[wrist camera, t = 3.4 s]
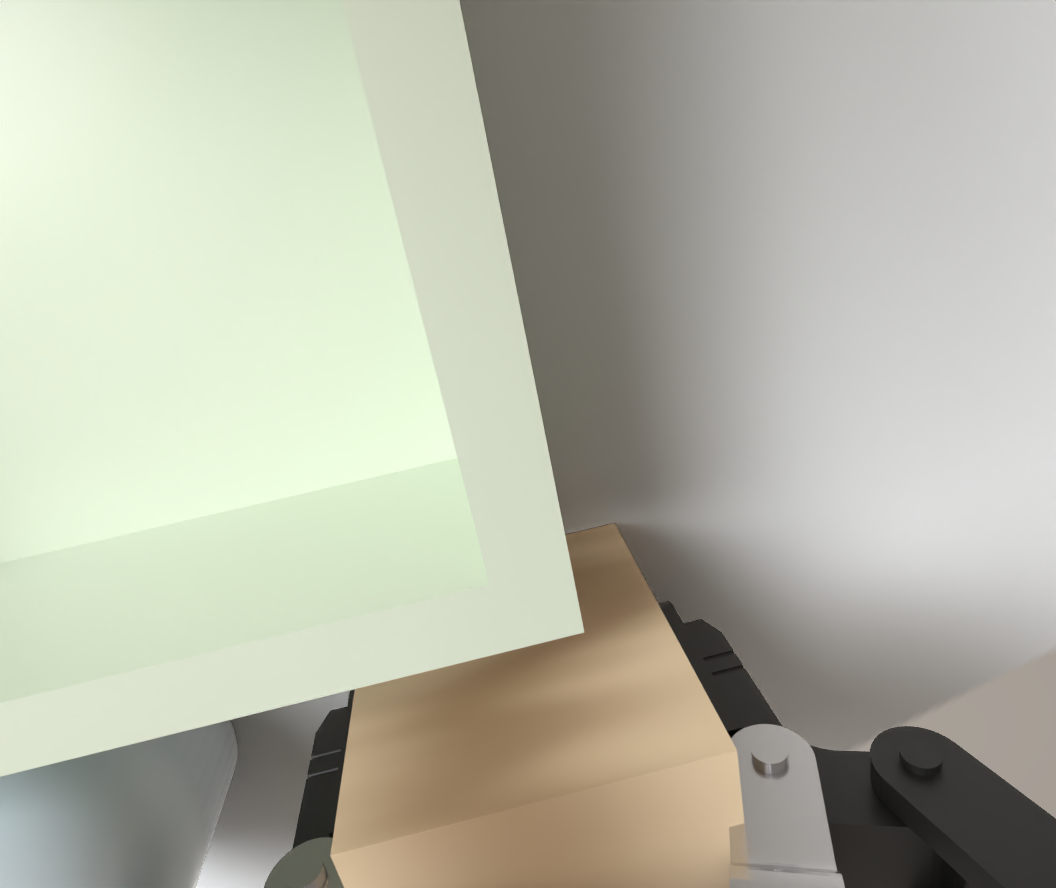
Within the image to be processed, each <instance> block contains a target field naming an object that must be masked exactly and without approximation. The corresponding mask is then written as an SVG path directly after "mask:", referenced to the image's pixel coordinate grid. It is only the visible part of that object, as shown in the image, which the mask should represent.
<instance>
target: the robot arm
mask: <svg viewBox="0 0 1056 888" xmlns="http://www.w3.org/2000/svg"><path fill="white" fill-rule="evenodd" d="M658 604H659V606H660V608H661V610H662V612H663V614H664V616H665V617H666V619H667V621H668V623H669V625H670V627H671V629H672V630H673V632H674V634H675V636H676V638H677V640H678V642H679V643H680V645H681V647H682V649H683V651H684V653H685V655H686V656H687V658H688V660H689V662H690V664H691V666H692V668H693V669H694V671H695V673H696V675H697V677H698V679H699V681H700V682H701V684H702V686H703V688H704V690H705V692H706V694H707V695H708V697H709V699H710V701H711V703H712V705H713V707H714V708H715V710H716V712H717V714H718V716H719V718H720V720H721V721H722V723H723V725H724V727H725V729H726V731H727V733H728V734H729V736H730V738H731V740H732V742H733V744H734V746H735V747H736V749H737V754H738V764H739V774H740V783H741V793H742V803H743V813H744V823H743V824H740V825H736V826H732V827H729V838H730V863H729V883H730V888H1056V819H1055V818H1054V817H1053V816H1051V815H1050V814H1049V813H1047V812H1046V811H1045V810H1043V809H1042V808H1041V807H1039V806H1038V805H1037V804H1035V803H1034V802H1032V801H1031V800H1030V799H1029V798H1027V797H1026V796H1025V795H1023V794H1022V793H1021V792H1019V791H1018V790H1017V789H1015V788H1014V787H1013V786H1012V785H1010V784H1009V783H1007V782H1006V781H1005V780H1004V779H1002V778H1001V777H1000V776H998V775H997V774H996V773H994V772H993V771H992V770H990V769H989V768H988V767H986V766H985V765H983V764H982V763H981V762H979V761H978V760H977V759H976V758H974V757H973V756H972V755H970V754H969V753H968V752H966V751H965V750H963V749H962V748H961V747H960V746H958V745H957V744H956V743H954V742H953V741H951V740H950V739H948V738H946V737H945V736H942V735H940V734H939V733H936V732H934V731H931V730H928V729H923V728H919V727H909V726H904V727H895V728H891V729H888V730H886V731H884V732H882V733H881V734H879V735H878V736H877V737H876V738H875V739H874V741H873V743H872V745H871V749H870V752H861V751H833V750H826V749H820V748H817V747H814V746H811V745H809V744H808V742H807V741H806V740H805V739H804V738H802V737H801V736H800V735H799V734H797V733H796V732H794V731H792V730H790V729H788V728H785V727H783V726H782V725H781V724H780V722H779V721H778V719H777V718H776V716H775V714H774V713H773V711H772V710H771V708H770V707H769V705H768V704H767V702H766V701H765V699H764V697H763V696H762V694H761V693H760V691H759V690H758V688H757V687H756V685H755V684H754V682H753V680H752V679H751V677H750V676H749V674H748V673H747V671H746V670H745V669H744V668H743V665H742V663H741V662H740V660H739V659H738V657H737V656H736V654H734V652H733V649H732V648H731V646H730V645H729V643H728V642H727V640H726V639H725V637H724V636H723V634H722V632H720V631H719V630H717V629H716V628H714V627H713V626H711V625H709V624H708V623H706V622H705V621H703V620H702V619H701V620H697V621H692V622H688V623H684V624H683V622H682V621H681V619H680V617H679V615H678V614H677V612H676V610H675V608H674V607H673V605H672V603H671V602H670V601H667V602H663V603H658ZM354 691H355V689H353V690H350V694H349V701H348V707H344V708H340V709H336V710H332V711H330V712H329V714H328V715H327V717H326V718H325V720H324V721H323V723H322V725H321V726H320V728H319V729H318V731H317V732H316V735H315V740H314V745H313V750H312V755H311V756H312V760H310V765H309V770H308V779H307V780H306V785H305V790H304V795H303V800H302V804H301V809H300V814H299V819H298V824H297V829H296V834H295V839H294V844H293V849H292V850H291V851H290V852H288V853H287V854H286V855H285V856H284V857H283V858H282V859H281V860H280V861H279V862H278V863H277V864H276V866H275V867H274V868H273V870H272V871H271V873H270V875H269V876H268V879H267V881H266V883H265V886H264V888H344V886H343V884H342V882H341V879H340V877H339V875H338V872H337V870H336V868H335V865H334V863H333V861H332V858H331V856H330V854H331V847H332V841H333V834H334V827H335V820H336V813H337V807H338V800H339V793H340V786H341V780H342V773H343V766H344V759H345V752H346V746H347V739H348V732H349V725H350V718H351V712H352V705H353V698H354Z"/></svg>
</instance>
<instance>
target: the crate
mask: <svg viewBox="0 0 1056 888" xmlns="http://www.w3.org/2000/svg"><path fill="white" fill-rule="evenodd" d="M580 633H584V628H583V622H582V617H581V612H580V607H579V602H578V597H577V592H576V587H575V582H574V577H573V572H572V567H571V562H570V557H569V552H568V547H567V542H566V537H565V532H564V526H563V521H562V516H561V511H560V506H559V501H558V496H557V491H556V486H555V481H554V476H553V471H552V466H551V461H550V456H549V451H548V446H547V441H546V436H545V431H544V425H543V420H542V415H541V410H540V405H539V400H538V395H537V390H536V385H535V380H534V375H533V370H532V365H531V360H530V355H529V350H528V345H527V340H526V335H525V329H524V324H523V319H522V314H521V309H520V304H519V299H518V294H517V289H516V284H515V279H514V274H513V269H512V264H511V259H510V254H509V249H508V244H507V239H506V233H505V228H504V223H503V218H502V213H501V208H500V203H499V198H498V193H497V188H496V183H495V178H494V173H493V168H492V163H491V158H490V153H489V148H488V143H487V138H486V132H485V127H484V122H483V117H482V112H481V107H480V102H479V97H478V92H477V87H476V82H475V77H474V72H473V67H472V62H471V57H470V52H469V47H468V42H467V36H466V31H465V26H464V21H463V16H462V11H461V6H460V1H459V0H0V777H1V776H5V775H9V774H13V773H17V772H21V771H25V770H29V769H33V768H37V767H41V766H46V765H50V764H54V763H58V762H62V761H66V760H70V759H74V758H78V757H82V756H86V755H90V754H94V753H98V752H102V751H106V750H110V749H114V748H118V747H123V746H127V745H131V744H135V743H139V742H143V741H147V740H151V739H155V738H159V737H163V736H167V735H171V734H175V733H179V732H183V731H187V730H191V729H195V728H199V727H204V726H208V725H212V724H216V723H220V722H224V721H228V720H232V719H236V718H240V717H244V716H248V715H252V714H256V713H260V712H264V711H268V710H272V709H276V708H281V707H285V706H289V705H293V704H297V703H301V702H305V701H309V700H313V699H317V698H321V697H325V696H329V695H333V694H337V693H341V692H345V691H349V690H353V689H357V688H362V687H366V686H370V685H374V684H378V683H382V682H386V681H390V680H394V679H398V678H402V677H406V676H410V675H414V674H418V673H422V672H426V671H430V670H434V669H439V668H443V667H447V666H451V665H455V664H459V663H463V662H467V661H471V660H475V659H479V658H483V657H487V656H491V655H495V654H499V653H503V652H507V651H511V650H515V649H520V648H524V647H528V646H532V645H536V644H540V643H544V642H548V641H552V640H556V639H560V638H564V637H568V636H572V635H576V634H580Z"/></svg>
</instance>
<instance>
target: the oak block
mask: <svg viewBox="0 0 1056 888" xmlns="http://www.w3.org/2000/svg"><path fill="white" fill-rule="evenodd" d="M565 537H566V542H567V547H568V552H569V557H570V562H571V567H572V572H573V577H574V582H575V587H576V592H577V597H578V602H579V607H580V612H581V617H582V622H583V628H584V633H580V634H576V635H572V636H568V637H564V638H560V639H556V640H552V641H548V642H544V643H540V644H536V645H532V646H528V647H524V648H520V649H515V650H511V651H507V652H503V653H499V654H495V655H491V656H487V657H483V658H479V659H475V660H471V661H467V662H463V663H459V664H455V665H451V666H447V667H443V668H439V669H434V670H430V671H426V672H422V673H418V674H414V675H410V676H406V677H402V678H398V679H394V680H390V681H386V682H382V683H378V684H374V685H370V686H366V687H362V688H357V689H355V691H354V698H353V705H352V712H351V718H350V725H349V732H348V739H347V746H346V752H345V759H344V766H343V773H342V780H341V786H340V793H339V800H338V807H337V813H336V820H335V827H334V834H333V841H332V847H331V854H330V856H331V858H332V861H333V863H334V865H335V868H336V870H337V872H338V875H339V877H340V879H341V882H342V884H343V886H344V888H730V883H729V863H730V838H729V827H732V826H736V825H740V824H743V823H744V813H743V803H742V793H741V783H740V774H739V764H738V754H737V749H736V747H735V746H734V744H733V742H732V740H731V738H730V736H729V734H728V733H727V731H726V729H725V727H724V725H723V723H722V721H721V720H720V718H719V716H718V714H717V712H716V710H715V708H714V707H713V705H712V703H711V701H710V699H709V697H708V695H707V694H706V692H705V690H704V688H703V686H702V684H701V682H700V681H699V679H698V677H697V675H696V673H695V671H694V669H693V668H692V666H691V664H690V662H689V660H688V658H687V656H686V655H685V653H684V651H683V649H682V647H681V645H680V643H679V642H678V640H677V638H676V636H675V634H674V632H673V630H672V629H671V627H670V625H669V623H668V621H667V619H666V617H665V616H664V614H663V612H662V610H661V608H660V606H659V604H658V603H657V601H656V599H655V597H654V595H653V593H652V591H651V590H650V588H649V586H648V584H647V582H646V580H645V578H644V577H643V575H642V573H641V571H640V569H639V567H638V565H637V564H636V562H635V560H634V558H633V556H632V554H631V552H630V551H629V549H628V547H627V545H626V543H625V541H624V539H623V538H622V536H621V534H620V532H619V530H618V528H617V526H616V525H615V523H613V524H608V525H604V526H600V527H596V528H592V529H587V530H583V531H579V532H575V533H571V534H566V535H565Z"/></svg>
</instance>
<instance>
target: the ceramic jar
mask: <svg viewBox="0 0 1056 888" xmlns="http://www.w3.org/2000/svg"><path fill="white" fill-rule="evenodd" d="M237 757H238V744H237V739H236V734H235V731H234V728H233V726H232V723H231V721H230V720H228V721H224V722H220V723H216V724H212V725H208V726H204V727H199V728H195V729H191V730H187V731H183V732H179V733H175V734H171V735H167V736H163V737H159V738H155V739H151V740H147V741H143V742H139V743H135V744H131V745H127V746H123V747H118V748H114V749H110V750H106V751H102V752H98V753H94V754H90V755H86V756H82V757H78V758H74V759H70V760H66V761H62V762H58V763H54V764H50V765H46V766H41V767H37V768H33V769H29V770H25V771H21V772H17V773H13V774H9V775H5V776H1V777H0V888H196V885H197V882H198V879H199V876H200V873H201V870H202V867H203V864H204V861H205V858H206V855H207V852H208V849H209V846H210V843H211V840H212V837H213V834H214V831H215V828H216V825H217V822H218V819H219V816H220V813H221V810H222V807H223V804H224V801H225V798H226V795H227V792H228V789H229V786H230V783H231V780H232V777H233V774H234V771H235V768H236V763H237Z"/></svg>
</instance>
